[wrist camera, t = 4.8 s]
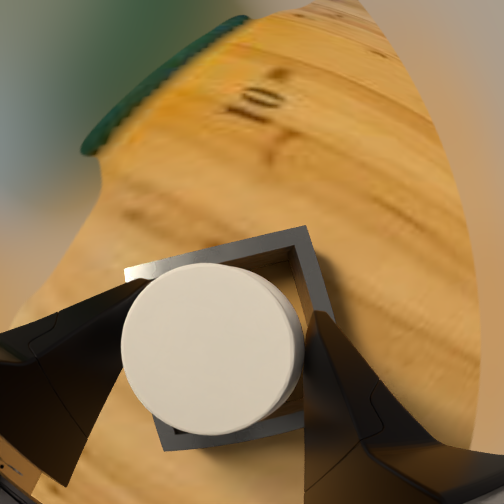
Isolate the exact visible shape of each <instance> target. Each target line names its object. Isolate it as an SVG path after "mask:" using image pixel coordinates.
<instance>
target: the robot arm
mask: <svg viewBox="0 0 504 504" xmlns="http://www.w3.org/2000/svg"><path fill="white" fill-rule="evenodd" d="M150 283H151V282H150V280H148V279H144V278H137V279H134V280H132V281H129V282H127V283H125V284H122V285H120V286H117V287H115V288H113V289H110V290H108V291H105V292H103V293H101V294H98V295H96V296H94V297H91V298H89V299H86V300H84V301H82V302H79V303H77V304H75V305H72V306H70V307H68V308H65V309H63V310H61V311H59V313H58V312H56V313H54V314H51V315H49V316H47V317H44V318H42V319H39V320H37V321H34V322H31V323H29V324H26V325H23V326H20V327H17V328H14V329H12V330H9V331H6V332H3V333H0V504H42V503H41V502H39V501H38V500H36V499H35V498H34V497H32V496H31V494H32V492H33V490H34V488H35V485H36V484H37V482H38V480H39V478H40V476H41V474H42V473H44V474H45V475H47V476H48V477H50V478H51V479H53V480H54V481H56V482H57V483H59V484H61V485H62V486H64V487H67V485H68V483H69V481H70V479H71V476H72V474H73V471H74V469H75V467H76V464H77V462H78V460H79V458H80V455H81V453H82V451H83V449H84V446H85V444H86V442H87V440H88V439H87V438H88V437H89V435H90V433H91V431H92V429H93V426H94V424H95V422H96V420H97V418H98V416H99V414H100V412H101V410H102V408H103V406H104V404H105V402H106V400H107V398H108V396H109V394H110V392H111V390H112V388H113V386H114V384H115V382H116V380H117V378H118V376H119V374H120V372H121V370H122V368H123V362H122V354H121V338H122V331H123V327H124V323H125V320H126V317H127V314H128V312H129V310H130V308H131V306H132V304H133V303H134V301H135V300H136V298H137V297H138V295H139V294H140V293H141V292H142V291H143V290H144V289H145V287H146V286H148V285H149V284H150ZM303 394H304V443H305V474H304V492H305V493H304V504H504V455H496V454H490V453H483V452H477V451H471V450H466V449H461V448H456V447H451V446H447V445H445V444H442V443H440V442H439V441H437V440H436V439H434V438H433V437H432V436H431V435H430V434H429V433H428V432H427V431H426V430H425V429H424V428H423V427H422V426H421V425H420V424H419V423H418V422H417V421H416V419H415V418H414V417H413V416H412V415H411V414H410V413H409V412H408V411H407V410H406V409H405V408H404V407H403V406H402V405H401V404H400V403H399V401H398V400H397V399H396V398H395V397H394V396H393V394H392V393H391V392H390V391H389V390H388V388H387V387H386V386H385V385H384V383H383V382H382V381H381V380H379V377H378V376H377V375H376V373H375V372H374V371H373V369H372V368H371V367H370V366H369V364H368V363H367V362H366V361H365V359H364V358H363V357H362V356H361V354H360V353H359V352H358V351H357V349H356V348H355V347H354V346H353V344H352V343H351V342H350V341H349V339H348V338H347V337H346V336H345V334H344V333H343V332H342V331H341V329H340V328H339V327H338V326H337V324H336V323H335V322H334V321H333V319H332V318H331V317H330V316H329V315H328V313H327V312H325V311H319V310H314V311H313V313H312V316H311V319H310V322H309V325H308V329H307V333H306V344H305V356H304V367H303Z"/></svg>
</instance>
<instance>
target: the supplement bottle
mask: <svg viewBox="0 0 504 504" xmlns="http://www.w3.org/2000/svg"><path fill="white" fill-rule="evenodd" d="M121 354H122V362H123V367H124V370H125V374H126V377H127V379H128V382H129V384H130V386H131V388H132V390H133V391H134V393H135V395H136V396H137V398H138V399H139V400H140V402H141V403H142V404H143V405H144V406H145V407H146V408H147V409H148V410H149V411H150V412H151V413H152V414H153V415H155V416H156V417H157V418H158V419H160V420H161V421H163V422H165V423H166V424H168V425H170V426H172V427H174V428H177V429H179V430H182V431H185V432H188V433H192V434H198V435H223V434H229V433H233V432H236V431H239V430H242V429H245V428H247V427H249V426H251V425H253V424H254V423H256V422H258V421H260V420H262V419H264V418H265V417H267V416H269V415H270V414H272V413H273V412H274V411H275V410H277V409H278V408H279V407H280V406H281V405H282V404H283V403H284V402H285V401H286V400H287V399H288V397H289V396H290V394H291V393H292V392H293V390H294V388H295V386H296V384H297V382H298V380H299V378H300V375H301V372H302V368H303V364H304V356H305V343H304V336H303V331H302V327H301V323H300V321H299V318H298V316H297V314H296V312H295V310H294V308H293V306H292V305H291V303H290V302H289V300H288V299H287V298H286V297H285V295H284V294H283V293H282V292H281V291H280V290H279V289H278V288H277V287H276V286H274V285H273V284H272V283H271V282H269V281H268V280H266V279H265V278H263V277H261V276H259V275H257V274H255V273H253V272H251V271H248V270H245V269H242V268H237V267H232V266H227V265H221V264H214V263H197V264H190V265H185V266H181V267H178V268H175V269H173V270H170V271H168V272H166V273H164V274H163V275H161V276H159V277H158V278H156V279H155V280H154V281H152V282H151V283H150V284H149V285H148V286H146V287H145V289H144V290H143V291H142V292H141V293H140V294H139V295H138V297H137V298H136V300H135V301H134V303H133V304H132V306H131V308H130V310H129V312H128V314H127V317H126V320H125V323H124V327H123V331H122V338H121Z"/></svg>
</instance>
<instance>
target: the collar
mask: <svg viewBox="0 0 504 504" xmlns="http://www.w3.org/2000/svg"><path fill="white" fill-rule="evenodd" d="M287 260H289V262H290V266H291V269H292V273H293V276H294V280H295V283H296V287H297V290H298V294H299V297H300V301H301V304H302V308H303V312H304V315H305V319H306V323H307V326H308V325H309V322H310V319H311V316H312V313H313V311H314V310H319V311H325V312H327V313H328V315H329V316H330V317H331V318H332V319H333V321H334V322H335V318H334V314H333V311H332V307H331V304H330V300H329V297H328V294H327V290H326V287H325V284H324V280H323V277H322V274H321V270H320V267H319V264H318V261H317V258H316V255H315V251H314V248H313V245H312V242H311V239H310V236H309V233H308V230H307V227H306V225H304V226H300V227H296V228H291V229H287V230H283V231H278V232H274V233H270V234H265V235H261V236H257V237H252V238H248V239H244V240H240V241H236V242H231V243H227V244H223V245H219V246H215V247H211V248H206V249H202V250H198V251H194V252H190V253H186V254H182V255H178V256H174V257H170V258H165V259H161V260H157V261H153V262H149V263H145V264H141V265H137V266H133V267H129V268H126V269H124V272H125V280H126V283H127V282H129V281H132V280H134V279H137V278H144V279H148V280H150V282H152V281H154V280H155V279H156V278H158V277H159V276H161V275H163V274H164V273H166V272H168V271H170V270H173V269H175V268H178V267H181V266H185V265H190V264H197V263H214V264H221V265H227V266H232V267H237V268H242V269H245V270H250V269H254V268H258V267H262V266H266V265H270V264H274V263H278V262H282V261H287ZM335 323H336V322H335ZM152 415H153V414H152ZM153 419H154V422H155V426H156V429H157V432H158V435H159V438H160V441H161V444H162V447H163V450H164V451H178V450H189V449H198V448H207V447H214V446H221V445H227V444H233V443H239V442H244V441H249V440H254V439H259V438H264V437H268V436H272V435H277V434H281V433H285V432H288V431H292V430H296V429H299V428H303V427H304V398H300V399H297V400H293V401H290V402H286V403H283V404H282V405H281V406H280V407H279V408H278V409H277V410H275V411H274V412H273V413H272V414H270V415H269V416H267V417H265V418H264V419H262V420H260V421H258V422H256V423H254V424H253V425H251V426H249V427H247V428H245V429H242V430H239V431H236V432H233V433H229V434H223V435H198V434H192V433H188V432H185V431H182V430H179V429H177V428H174V427H172V426H170V425H168V424H166V423H165V422H163V421H161V420H160V419H158V418H157V417H156V416H155V415H153Z"/></svg>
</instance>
